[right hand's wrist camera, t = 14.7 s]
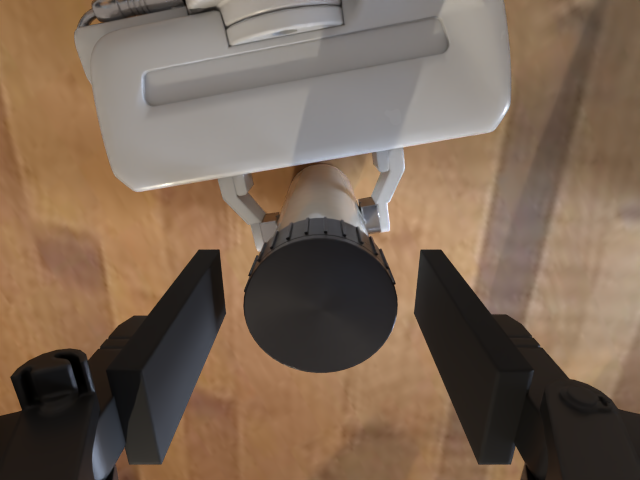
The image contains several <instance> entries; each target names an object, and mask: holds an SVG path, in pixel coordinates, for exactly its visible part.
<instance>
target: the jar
mask: <svg viewBox="0 0 640 480" xmlns="http://www.w3.org/2000/svg"><path fill="white" fill-rule="evenodd" d="M308 217H309V219H311V218H324V217H327V218H331V219H336V220H340V221H341V219H342V220H344V222H346V223H349V224H351V225H353V226H355V227H357V226H358V227H360V230H361V231H363V232H364V233H366V234H367V235H368V236H369V234H368V231H367V228H366V226H365V223H364V220H363V217H362V214H361V211H360V208H359V206H358V203H357V200H356V197H355V194H354V191H353V188H352V186H351V183H350V181H349V179H348V178H347V176H346V175H345V174H344V173H343V172H342V171H340V170H339V169H337V168H336V167H333V166H331V165H327V164H315V165H311V166H308V167H306V168H304V169H303V170H301V171H300V172H299V173H298V174H297V175H296V176H295V177H294V179H293V180H292V182H291V185H290V187H289V190H288V193H287V196H286V199H285V202H284V204H283V207H282V210H281V213H280V216H279V219H278V221H277V224H276V227H275V230H274V233H273V235H274V234H275V232H276V231H280V230H281V229H283V228H284V227H286V226H288V225H289V224H290V223H291V222H292V223H295V222H297V221H301V220H305V219H306V218H308ZM273 235H272V236H273Z"/></svg>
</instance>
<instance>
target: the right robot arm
mask: <svg viewBox="0 0 640 480" xmlns="http://www.w3.org/2000/svg"><path fill="white" fill-rule="evenodd" d="M225 315H226V309H225V299H224V290H223V280H222V270H221V260H220V251H219V250H198V251H197V253H196V254H195V255H194V257H193V258H192V259H191V261H190V262H189V263H188V264H187V266H186V267H185V268H184V270H183V271H182V272H181V273H180V275H179V276H178V277H177V279H176V280H175V281H174V283H173V284H172V285H171V286H170V288H169V289H168V290H167V292H166V293H165V294H164V295H163V297H162V298H161V299H160V301H159V302H158V303H157V304H156V306H155V307H154V308H153V310H152V311H151V312H150V314H149V315H148V316H133V317H131V318H130V319H128V320H126V321H125V322H123V323H122V324H120V325H119V326H118V327H117V328H116V329H115V330H114V331H113V332H112V334H111V335H110V336H109V338H108V339H106V341H105V342H104V343H103V344H102V345H101V346H100V349H98V350H97V351H96V352H95V353H94V354H93V356H92V357H91V358H90V359H89V360H87V356H86V354H85V353H83V352H82V351H81V350H76V349H61V350H55V351H51V352H48V353H44V354H42V355H40V356H37V357H35V358H33V359H31V360H29V361H27V362H26V363H25V364H23V365H22V366H20V367H19V368H18V369H17V370H16V371H15V372H14V373H13V375H12V376H11V377H10V378H11V380H12V383H13V386H14V389H15V391H16V394H17V397H18V400H19V402H20V405H21V408H22V411H19V412H15V413H11V414H6V415H2V416H0V480H118V473H117V468H116V465H115V463H116V462H117V460H118V458H119V456H120V454H121V453H122V451H123V449H124V447H125V450H126V454H127V458H128V462H129V464H162V462H163V460H164V457H165V455H166V453H167V450H168V448H169V446H170V443H171V441H172V439H173V436H174V434H175V432H176V429H177V427H178V425H179V422H180V420H181V418H182V415H183V413H184V411H185V408H186V406H187V403H188V401H189V399H190V396H191V394H192V392H193V389H194V387H195V385H196V382H197V380H198V378H199V375H200V373H201V371H202V368H203V366H204V364H205V361H206V359H207V357H208V354H209V352H210V350H211V347H212V345H213V343H214V340H215V338H216V336H217V333H218V331H219V329H220V326H221V324H222V322H223V319H224V317H225ZM414 315H415V317H416V319H417V322H418V324H419V326H420V329H421V331H422V333H423V336H424V338H425V340H426V343H427V345H428V347H429V350H430V352H431V354H432V357H433V359H434V361H435V364H436V366H437V368H438V371H439V373H440V375H441V378H442V380H443V382H444V385H445V387H446V389H447V392H448V394H449V396H450V399H451V401H452V403H453V406H454V408H455V411H456V413H457V415H458V418H459V420H460V422H461V425H462V427H463V429H464V432H465V434H466V436H467V439H468V441H469V443H470V446H471V448H472V450H473V453H474V455H475V457H476V460H477V462H478V464H511V462H512V458H513V454H514V450H515V446H516V447H517V449H518V451H519V452H520V454H521V456H522V458H523V460H524V461H525V465H524V468H523V472H522V476H521V480H640V414H637V413H632V412H628V411H623V410H620V409H618V408H617V407H616V406H615V404H614V403H613V401H612V400H611V399H610V398H608V397H607V396H606V395H605V394H604V393H602V392H601V391H599V390H598V389H596V388H594V387H592V386H590V385H588V384H585V383H582V382H579V381H576V380H571V379H569V378H568V377H567V376H566V374H565V373H564V372H563V371H562V370H561V369H560V368H559V366H558V365H557V364H556V363H555V362H554V361H553V359H552V358H551V357H550V356H549V355H548V354H547V353H546V351H545V350H544V349H543V348H540V345H539V343H538V342H537V341H536V340H535V339H534V338H532V335H531V334H530V333H529V332H528V331H527V330H526V329H525V327H524V326H523V325H522V324H520V323H519V322H517V321H516V320H514V319H513V318H511V317H509V316H508V315H491V314H490V312H489V311H488V310H487V308H486V307H485V306H484V304H483V303H482V302H481V301H480V299H479V298H478V297H477V295H476V294H475V293H474V292H473V290H472V289H471V288H470V286H469V285H468V284H467V283H466V281H465V280H464V279H463V277H462V276H461V275H460V273H459V272H458V271H457V270H456V268H455V267H454V266H453V264H452V263H451V262H450V261H449V259H448V258H447V257H446V255H445V254H444V253H443V251H442V250H421V251H420V260H419V270H418V280H417V290H416V299H415V309H414Z"/></svg>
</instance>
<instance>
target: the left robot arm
mask: <svg viewBox="0 0 640 480" xmlns="http://www.w3.org/2000/svg"><path fill="white" fill-rule="evenodd" d="M91 4H92V9H90V10H89V11H87V12H86V13H85V14H84V15H83V16H82V18H81V19H80V21H79V23H78V26H77V29H76V30H75V32H74V39H75V45H76V49H77V52H78V55H79V57H80V60H81V63H82V66H83V69H84V72H85V74H86V77H87V78H88V80H89V82H90V83H91V85H92V89H93V95H94V101H95V106H96V111H97V117H98V121H99V125H100V130H101V134H102V138H103V142H104V146H105V149H106V153H107V156H108V160H109V163H110V166H111V169H112V171H113V173H114V175H115V177H116V178H117V179H119V180H120V181H121V182H122V183H124V184H125V185H126V186H127V187H129V188H130V189H131V190H133V191H135V192H142V191H148V190H154V189H160V188H165V187H171V186H177V185H183V184H189V183H195V182H201V181H207V180H213V179H218V182H219V186H220V190H221V194H222V197H223V200H224V201H225V202H226V203H227V204H228V205H229V206H230V207H231V208H232V209H233V210H234V211H235V212H236V213H237V214H238V215H239V216H240V217H241V218H242V219H243V220H244V221H245V222H246V223H247V224H248V225H251V229H252V233H253V237H254V241H255V245H256V249H257V250H258V251H261V249H262V246H263V244H264V242H266V243H267V242H268V240H269V239H270V238H271V237H272V235H273V233H274V230H275V227H276V224H277V221H278V219H279V216H280V214H279V212H276V213H269V214H266V213H265V212H264V211H263V209H262V208H261V207H260V206H259V205H258V204H257V202H256V201H255V200H254V199H253V198H252V197H251V195H250V194H249V193H248V191H249V190H250V189H251V187H252V186H253V185H254V184H253V179H252V175H251V173H254V172H260V171H266V170H272V169H278V168H283V167H289V166H295V165H301V164H307V163H313V162H319V161H325V160H331V159H337V158H342V157H348V156H354V155H360V154H366V153H372V157H373V164H374V166H375V167H376V168H377V169H378V171H380V172H381V173H380V176H379V178H378V181H377V183H376V186H375V188H374V190H373V193H372V195H371V196H372V197H367V198H362V199H358V204H359V208H360V211H361V214H362V217H363V220H364V223H365V226H366V228H367V231H368V234H374V233H380V232H387V231H389V230H390V224H389V215H388V206H387V202H390V200H391V198H392V195H393V193H394V191H395V189H396V187H397V185H398V183H399V181H400V178H401V176H402V174H403V172H404V170H405V165H404V153H403V147H407V146H413V145H419V144H425V143H431V142H437V141H443V140H449V139H455V138H460V137H466V136H472V135H478V134H484V133H490V132H492V131H494V130H495V129H496V128H497V126H498V125H499V124H500V122H501V121H502V119H503V118H504V116H505V114H506V113H507V111H508V110H509V107H510V102H511V60H510V46H509V35H508V26H507V18H506V11H505V4H504V0H93V1H92V3H91ZM96 18H97V19H98V20H99V21H100V22H103V23H99V24H94V25H90V24H91V22H92V21H93V20H95V19H96Z"/></svg>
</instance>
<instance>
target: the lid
mask: <svg viewBox="0 0 640 480" xmlns="http://www.w3.org/2000/svg"><path fill="white" fill-rule="evenodd" d="M248 276H250V277H249V279H248V282H247V284H246V287H245V289H244V292H245V295H244V316H245V320H246V324H247V326H248V329H249V331H250V333H251V335H252V336H253V338H254V340H255V341H256V342H257V344H258V345H259V346H260V347H261V348H262V349H263V350H264V351H265V352H266V353H267V354H268V355H269V356H271V357H272V358H273V359H275V360H276V361H278V362H280V363H282V364H284V365H286V366H288V367H291V368H294V369H297V370H301V371H306V372H314V373H328V372H336V371H340V370H345V369H348V368H350V367H353V366H355V365H358V364H360V363H362V362H363V361H365V360H366V359H368V358H370V357H371V356H372V355H373V354H374V353H376V352H377V351H378V350H379V349H380V348H381V347H382V346H383V344H384V343H385V341H386V340H387V339H388V337H389V335H390V333H391V331H392V329H393V327H394V324H395V321H396V316H397V306H398V303H397V294H396V290H395V286H394V285H395V284H396V283H395V280H394V278H393V275H392V273H391V270H390V268H389V266H388V263H387V261H386V259H385V256H384V254H383V251H382V249H379V248H378V247H377V245H376V244H375V243H374V240H373V238H372V237H371V236H370V237H369V236H368V235H367V234H366V233H364V232H363V231H361V230H360V227H358V226H357V227H355V226H353V225H351V224H349V223H346V222H344V220H342V219H341V221H340V220H336V219H331V218H327V217H324V218H311V219H309V217H308V218H306V219H305V220H301V221H297V222H295V223H292V222H291V223H290V224H289V225H288V226H286V227H284V228H283V229H281V230H280V231H276V232H275V234H274V235H273V236H272V237H271V238H270V239H269V240H268V242H267V243H266V242H264V244H263V246H262V249H261V251H260V254H259V256H258V255H256V258H255V260H254V263H253V265H252V268H251V270H250V272H249V275H248Z"/></svg>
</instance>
